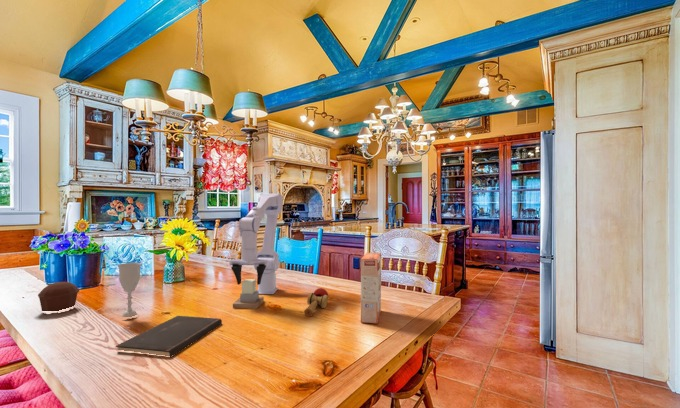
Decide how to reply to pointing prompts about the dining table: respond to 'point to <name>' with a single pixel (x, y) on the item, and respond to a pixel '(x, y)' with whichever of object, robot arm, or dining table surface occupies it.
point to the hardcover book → (170, 335)
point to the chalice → (129, 283)
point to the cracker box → (370, 287)
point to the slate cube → (249, 297)
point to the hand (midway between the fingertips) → (249, 284)
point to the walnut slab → (248, 304)
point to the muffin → (58, 296)
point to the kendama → (316, 301)
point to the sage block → (248, 286)
